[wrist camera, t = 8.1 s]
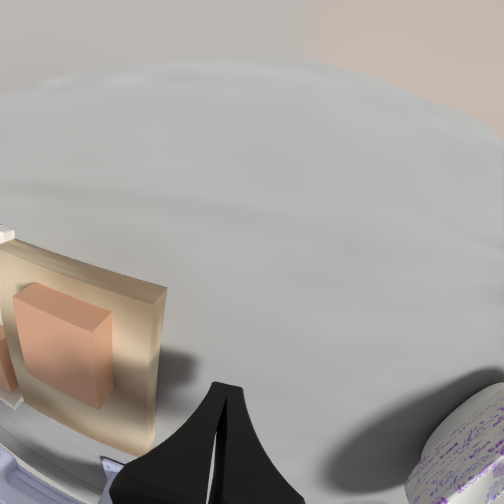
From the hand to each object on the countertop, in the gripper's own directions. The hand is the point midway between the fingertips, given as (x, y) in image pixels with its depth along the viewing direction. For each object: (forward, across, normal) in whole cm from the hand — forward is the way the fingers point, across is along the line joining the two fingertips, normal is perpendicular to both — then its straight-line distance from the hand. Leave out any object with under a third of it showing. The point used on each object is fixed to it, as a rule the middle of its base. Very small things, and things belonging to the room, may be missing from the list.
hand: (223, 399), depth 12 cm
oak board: (+3, +9, +3) cm, 10 cm away
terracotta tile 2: (+1, +8, 0) cm, 8 cm away
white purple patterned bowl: (+3, -22, +4) cm, 23 cm away
